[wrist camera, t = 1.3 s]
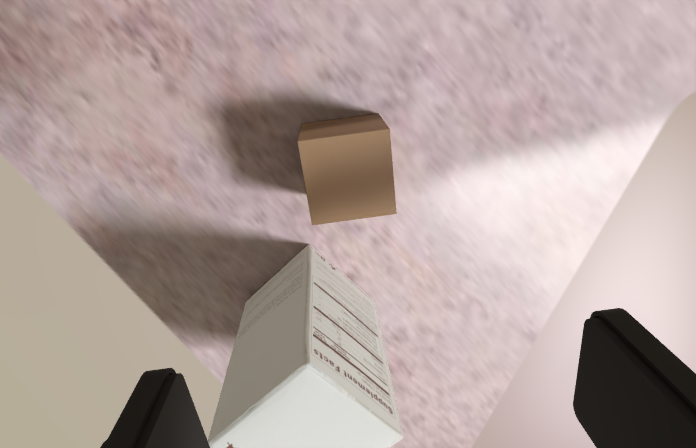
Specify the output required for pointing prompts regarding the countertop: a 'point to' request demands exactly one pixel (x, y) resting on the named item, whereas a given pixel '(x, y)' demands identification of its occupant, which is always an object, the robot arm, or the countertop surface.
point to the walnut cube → (347, 168)
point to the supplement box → (307, 366)
